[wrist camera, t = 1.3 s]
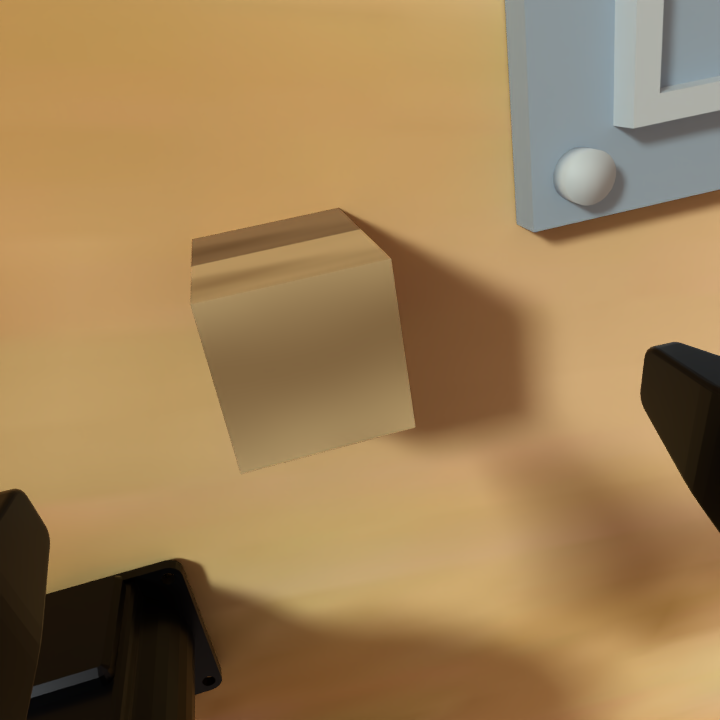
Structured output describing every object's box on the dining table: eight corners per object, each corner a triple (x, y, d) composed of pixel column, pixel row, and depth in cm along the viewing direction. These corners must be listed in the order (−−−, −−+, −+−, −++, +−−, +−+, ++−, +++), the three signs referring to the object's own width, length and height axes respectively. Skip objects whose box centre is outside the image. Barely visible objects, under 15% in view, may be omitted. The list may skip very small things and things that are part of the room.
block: (361, 339, 22) (415, 427, 16) (229, 371, 21) (240, 474, 16) (338, 207, 20) (391, 258, 14) (192, 239, 19) (190, 304, 14)
